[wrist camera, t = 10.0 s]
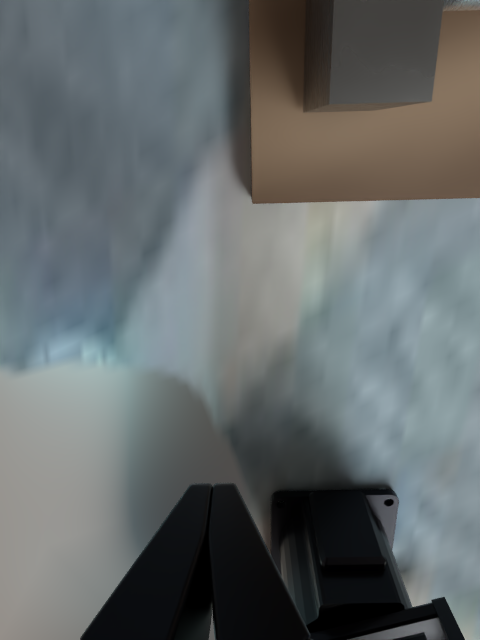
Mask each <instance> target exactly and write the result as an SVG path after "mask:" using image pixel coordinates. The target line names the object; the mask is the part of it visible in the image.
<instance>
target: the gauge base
mask: <svg viewBox="0 0 480 640" xmlns="http://www.w3.org/2000/svg"><path fill="white" fill-rule="evenodd" d="M305 11H306V0H249V53H250V117H251V182H252V203H253V204H260V203H298V202H337V201H376V200H415V199H453V198H480V10H463V11H443V12H442V21H441V29H440V37H439V46H438V54H437V62H436V71H435V79H434V87H433V95H432V102H425V103H419V104H413V105H407V106H400V107H394V108H388V109H381V110H375V111H343V112H307V113H303V94H304V52H305Z"/></svg>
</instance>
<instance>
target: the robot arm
mask: <svg viewBox="0 0 480 640" xmlns="http://www.w3.org/2000/svg"><path fill="white" fill-rule="evenodd" d="M386 499H390V500H387V501H385V500H386ZM278 501H284V502H281V503H280V502H278ZM398 504H399V500H398V497H397V495H396V493H395V492H394V491H393V490H389V489H373V490H317V491H279V492H276V493H274V494H273V495H272V497H271V554H270V552H269V550H268V548H267V546H266V544H265V542H264V540H263V538H262V536H261V534H260V532H259V530H258V528H257V526H256V524H255V522H254V520H253V518H252V516H251V514H250V512H249V510H248V508H247V506H246V504H245V502H244V500H243V498H242V496H241V494H240V492H239V490H238V488H237V486H236V485H235V484H234V483H216V484H214V486H212V485H211V484H209V483H204V484H203V483H201V484H192V485H190V486H189V487H188V489H187V490H186V491H185V493H184V494H183V496H182V497H181V498H180V500H179V501H178V503H177V504H176V505H175V507H174V508H173V509H172V511H171V512H170V514H169V515H168V517H167V518H166V520H165V521H164V522H163V523H162V525H161V526H160V528H159V529H158V531H157V532H156V533H155V535H154V536H153V537H152V539H151V540H150V542H149V543H148V544H147V546H146V547H145V549H144V550H143V551H142V553H141V554H140V555H139V557H138V558H137V560H136V561H135V562H134V564H133V565H132V567H131V568H130V569H129V571H128V572H127V574H126V575H125V576H124V578H123V579H122V581H121V582H120V583H119V585H118V586H117V587H116V589H115V590H114V592H113V593H112V594H111V596H110V597H109V599H108V600H107V601H106V603H105V604H104V606H103V607H102V608H101V610H100V611H99V613H98V614H97V615H96V617H95V618H94V619H93V621H92V622H91V624H90V625H89V626H88V628H87V629H86V631H85V632H84V633H83V635H82V636H81V638H80V640H208V639H209V631H210V625H211V616H212V610H213V621H214V622H213V623H214V636H215V640H465V639H464V637H463V635H462V633H461V631H460V628H459V626H458V624H457V622H456V620H455V618H454V616H453V614H452V612H451V610H450V608H449V605H448V603H447V601H446V599H445V597H441V598H437V599H433V600H432V603H428V604H424V605H420V606H416V607H412V605H411V602H410V599H409V596H408V593H407V591H406V588H405V585H404V582H403V580H402V577H401V574H400V571H399V568H398V566H397V563H396V560H395V557H394V555H393V552H392V548H393V541H394V533H395V526H396V519H397V511H398Z"/></svg>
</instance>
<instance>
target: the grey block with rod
mask: <svg viewBox="0 0 480 640" xmlns="http://www.w3.org/2000/svg"><path fill="white" fill-rule="evenodd" d="M463 10H480V0H306V11H305V52H304V94H303V113H307V112H343V111H375V110H381V109H388V108H394V107H400V106H407V105H413V104H419V103H425V102H432V95H433V87H434V79H435V71H436V62H437V54H438V46H439V37H440V29H441V21H442V12H443V11H463Z"/></svg>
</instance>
